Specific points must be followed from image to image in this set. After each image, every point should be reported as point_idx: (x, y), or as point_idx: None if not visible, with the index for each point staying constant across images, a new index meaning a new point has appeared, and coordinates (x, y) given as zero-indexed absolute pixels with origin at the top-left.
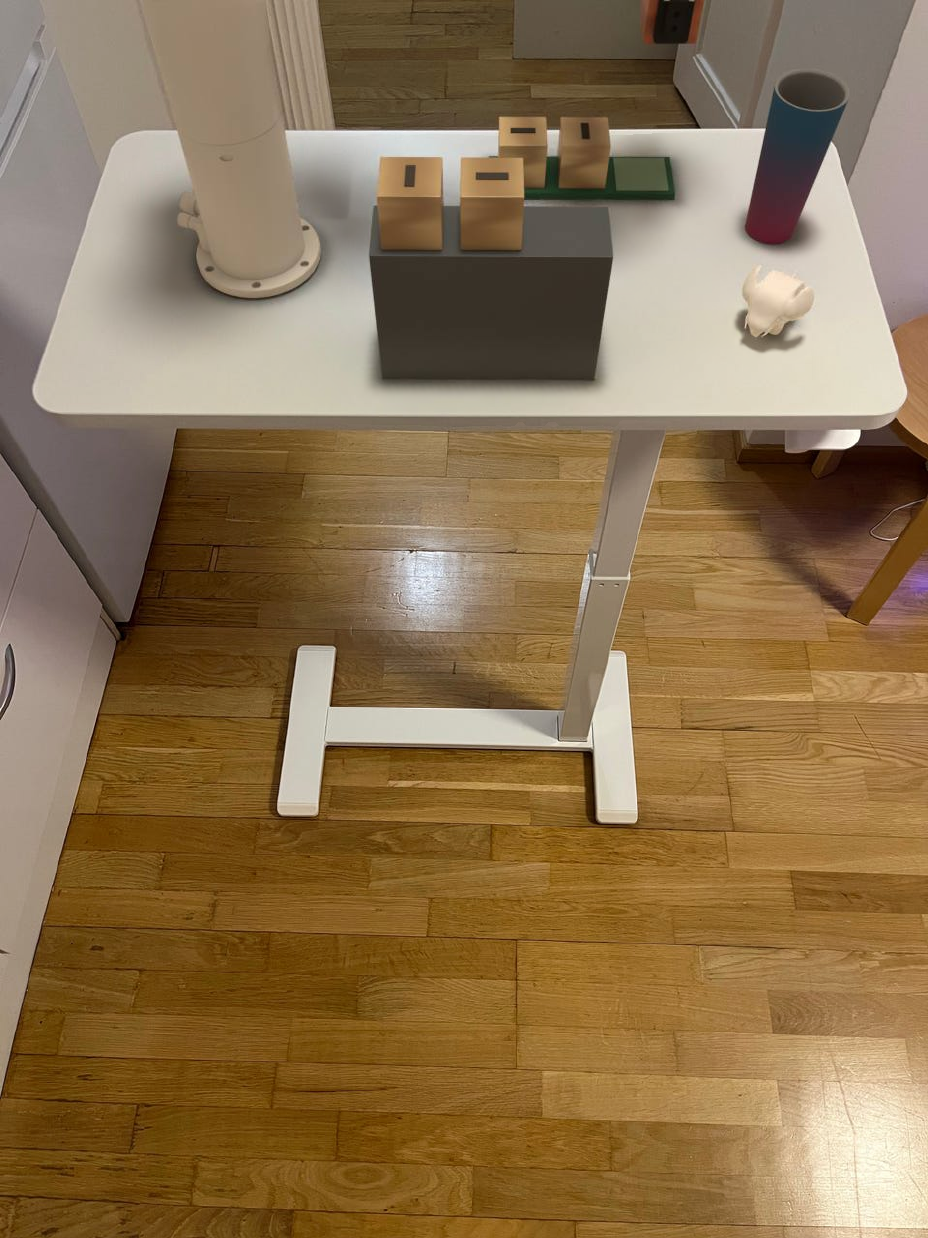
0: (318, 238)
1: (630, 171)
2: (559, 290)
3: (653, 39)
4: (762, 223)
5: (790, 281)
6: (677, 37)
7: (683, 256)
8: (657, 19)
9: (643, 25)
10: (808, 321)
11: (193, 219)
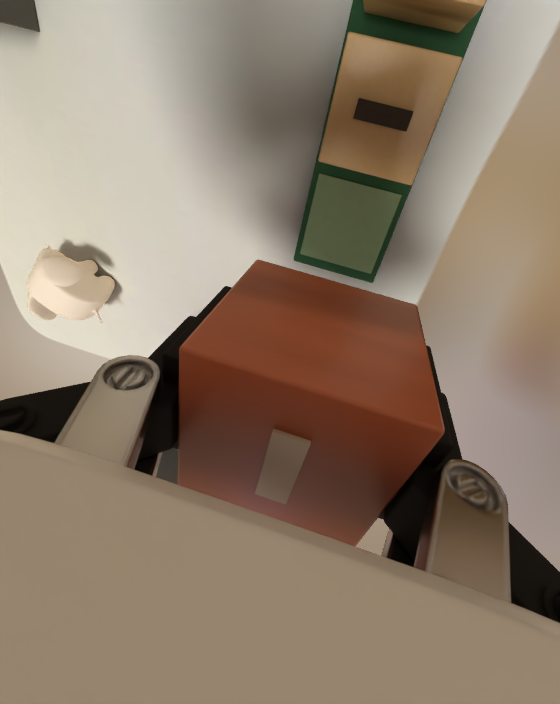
0: None
1: (357, 212)
2: None
3: (230, 287)
4: None
5: (53, 305)
6: None
7: (190, 228)
8: (198, 316)
9: (284, 281)
10: (104, 312)
11: None
